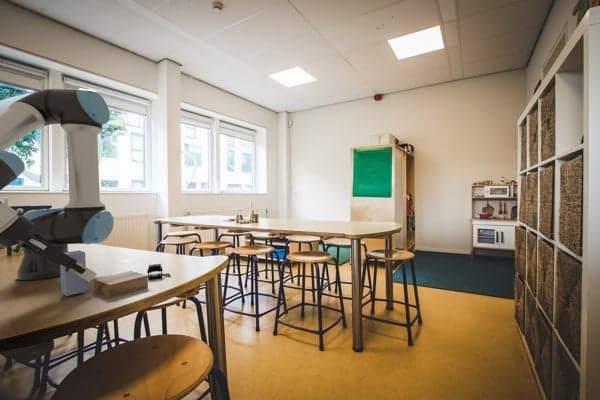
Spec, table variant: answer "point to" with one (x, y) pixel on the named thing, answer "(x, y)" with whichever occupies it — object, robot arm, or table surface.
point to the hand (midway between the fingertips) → (89, 276)
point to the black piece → (153, 269)
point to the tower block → (73, 276)
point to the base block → (120, 284)
